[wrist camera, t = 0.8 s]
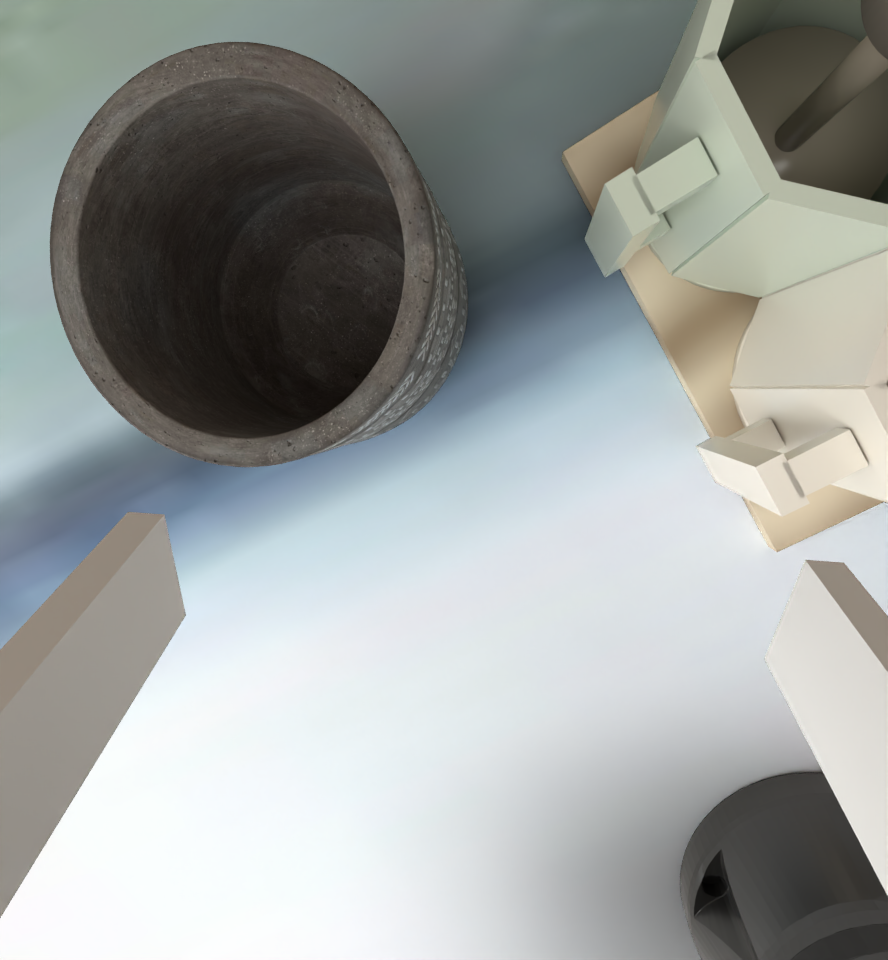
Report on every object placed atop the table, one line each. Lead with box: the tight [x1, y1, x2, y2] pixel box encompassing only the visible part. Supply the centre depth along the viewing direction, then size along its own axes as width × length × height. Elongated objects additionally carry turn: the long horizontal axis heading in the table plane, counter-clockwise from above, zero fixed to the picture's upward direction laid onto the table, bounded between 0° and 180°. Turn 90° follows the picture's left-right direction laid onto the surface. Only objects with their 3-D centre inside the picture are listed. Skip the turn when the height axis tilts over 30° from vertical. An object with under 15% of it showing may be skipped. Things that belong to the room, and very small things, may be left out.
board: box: [562, 91, 884, 552], centre depth 32 cm, size 24×14×1 cm, turn 30°
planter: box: [50, 42, 468, 467], centre depth 29 cm, size 14×14×15 cm
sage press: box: [585, 0, 888, 298], centre depth 22 cm, size 11×14×20 cm
